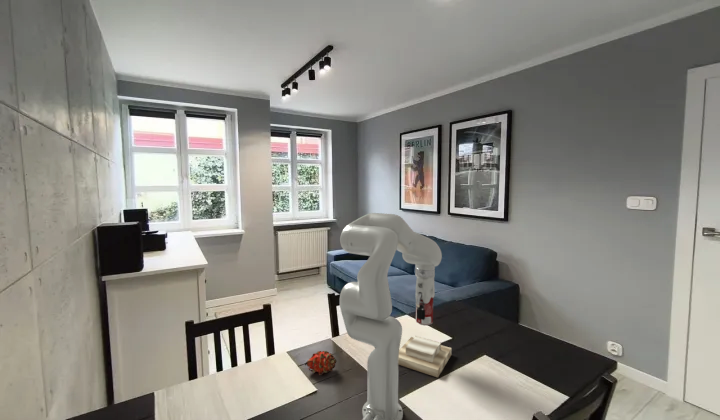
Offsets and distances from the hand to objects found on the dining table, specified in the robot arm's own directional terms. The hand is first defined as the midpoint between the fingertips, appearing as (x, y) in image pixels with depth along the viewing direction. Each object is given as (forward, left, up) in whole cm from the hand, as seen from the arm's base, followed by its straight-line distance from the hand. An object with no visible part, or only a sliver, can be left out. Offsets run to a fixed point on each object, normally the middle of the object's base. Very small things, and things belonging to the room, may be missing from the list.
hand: (424, 315), depth 127 cm
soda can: (0, 0, -3) cm, 3 cm away
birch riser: (0, 0, -18) cm, 18 cm away
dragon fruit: (-29, +30, -19) cm, 46 cm away
